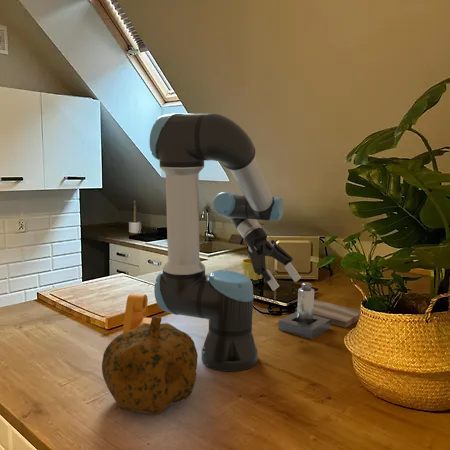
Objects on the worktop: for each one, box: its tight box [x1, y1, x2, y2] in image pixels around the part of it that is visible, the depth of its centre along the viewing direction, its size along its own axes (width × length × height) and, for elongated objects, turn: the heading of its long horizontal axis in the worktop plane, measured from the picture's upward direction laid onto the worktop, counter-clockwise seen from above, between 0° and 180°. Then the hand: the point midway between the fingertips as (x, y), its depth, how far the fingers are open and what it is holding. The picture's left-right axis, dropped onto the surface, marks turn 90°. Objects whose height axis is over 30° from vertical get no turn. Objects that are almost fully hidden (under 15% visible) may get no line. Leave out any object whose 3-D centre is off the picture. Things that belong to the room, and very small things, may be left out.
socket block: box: [277, 311, 331, 340], centre depth 144 cm, size 12×12×3 cm
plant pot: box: [241, 257, 267, 280], centre depth 196 cm, size 10×10×10 cm
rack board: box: [294, 299, 361, 329], centre depth 157 cm, size 14×19×2 cm
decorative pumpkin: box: [101, 315, 198, 415], centre depth 99 cm, size 20×21×20 cm
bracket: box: [122, 292, 152, 334], centre depth 138 cm, size 11×7×12 cm, turn 168°
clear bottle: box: [296, 282, 315, 325], centre depth 143 cm, size 5×5×15 cm
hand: (287, 284), depth 149 cm, fingers open, 13 cm apart
